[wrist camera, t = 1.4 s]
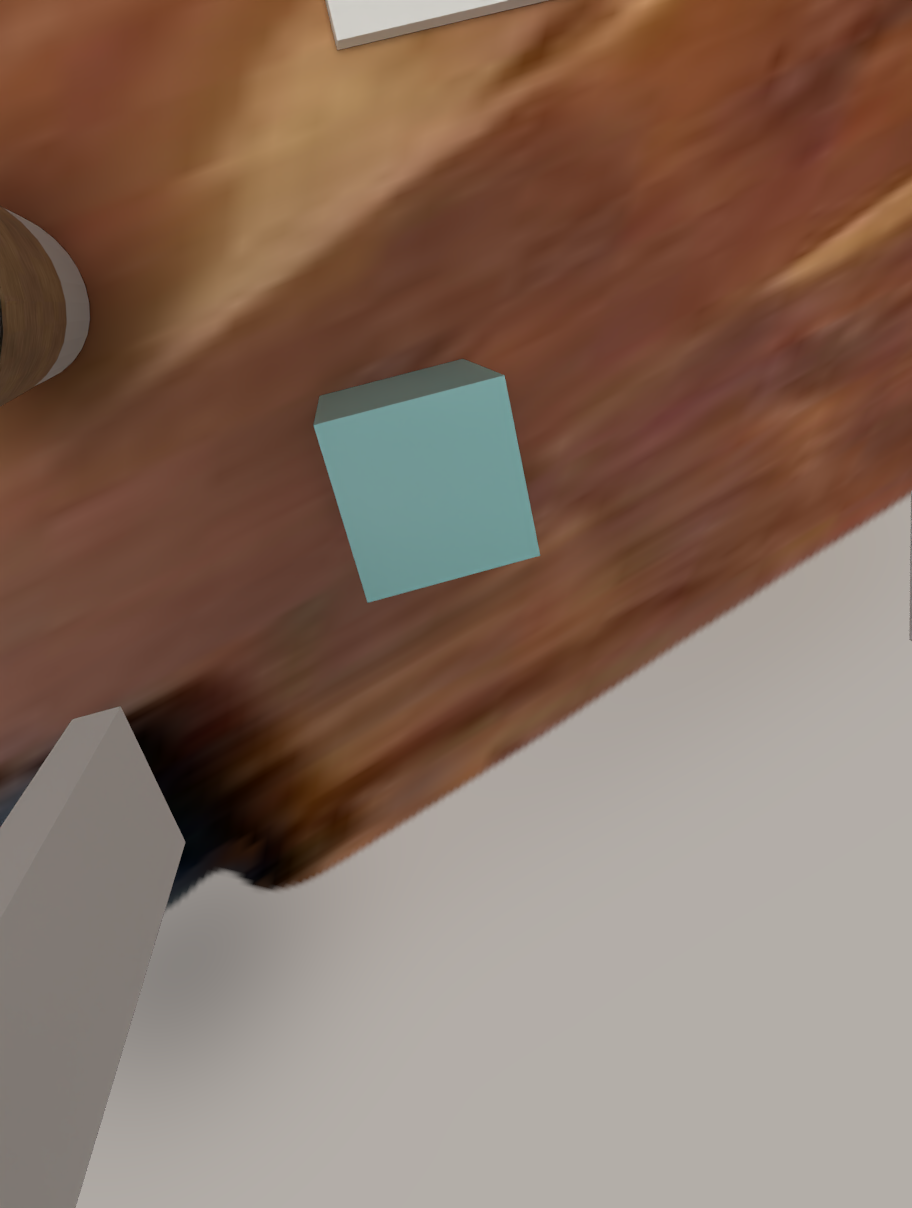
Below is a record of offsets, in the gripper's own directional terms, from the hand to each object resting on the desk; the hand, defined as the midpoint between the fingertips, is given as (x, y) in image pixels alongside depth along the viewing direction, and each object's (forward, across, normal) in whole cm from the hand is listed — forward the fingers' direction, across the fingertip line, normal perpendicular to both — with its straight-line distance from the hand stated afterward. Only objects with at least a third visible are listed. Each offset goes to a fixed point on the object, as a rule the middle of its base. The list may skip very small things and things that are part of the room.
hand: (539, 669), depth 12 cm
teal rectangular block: (+21, 0, 0) cm, 21 cm away
